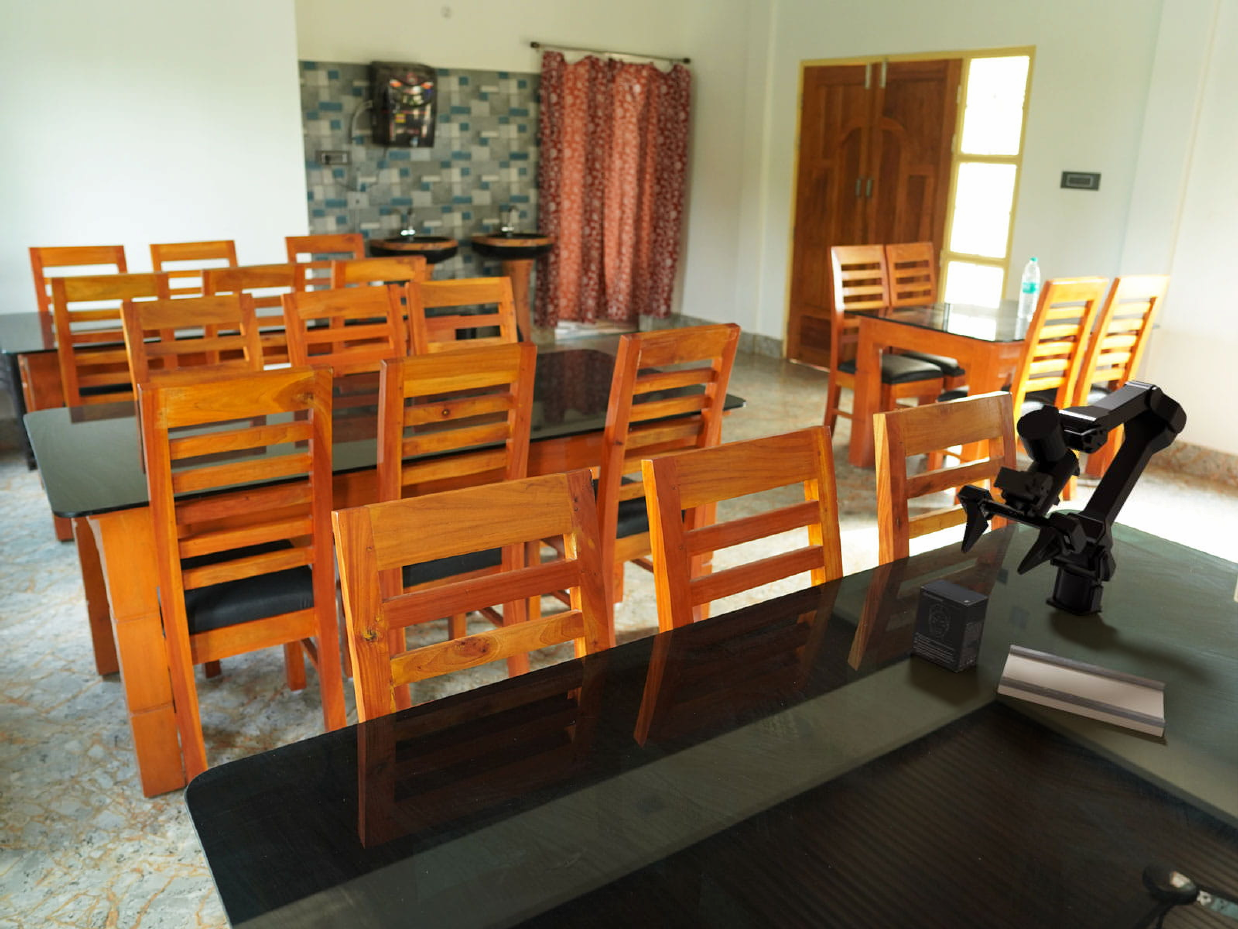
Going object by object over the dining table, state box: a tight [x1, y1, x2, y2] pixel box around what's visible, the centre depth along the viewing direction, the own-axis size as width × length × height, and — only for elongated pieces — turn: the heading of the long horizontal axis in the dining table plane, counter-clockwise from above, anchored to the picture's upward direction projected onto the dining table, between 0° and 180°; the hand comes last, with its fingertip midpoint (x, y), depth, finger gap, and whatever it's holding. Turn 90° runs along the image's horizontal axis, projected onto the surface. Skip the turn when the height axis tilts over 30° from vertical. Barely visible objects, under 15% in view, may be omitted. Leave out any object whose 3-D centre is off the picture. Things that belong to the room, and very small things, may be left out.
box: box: [910, 578, 989, 673], centre depth 143 cm, size 8×6×11 cm
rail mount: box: [997, 644, 1166, 738], centre depth 137 cm, size 20×12×2 cm, turn 63°
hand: (989, 562), depth 146 cm, fingers open, 9 cm apart
